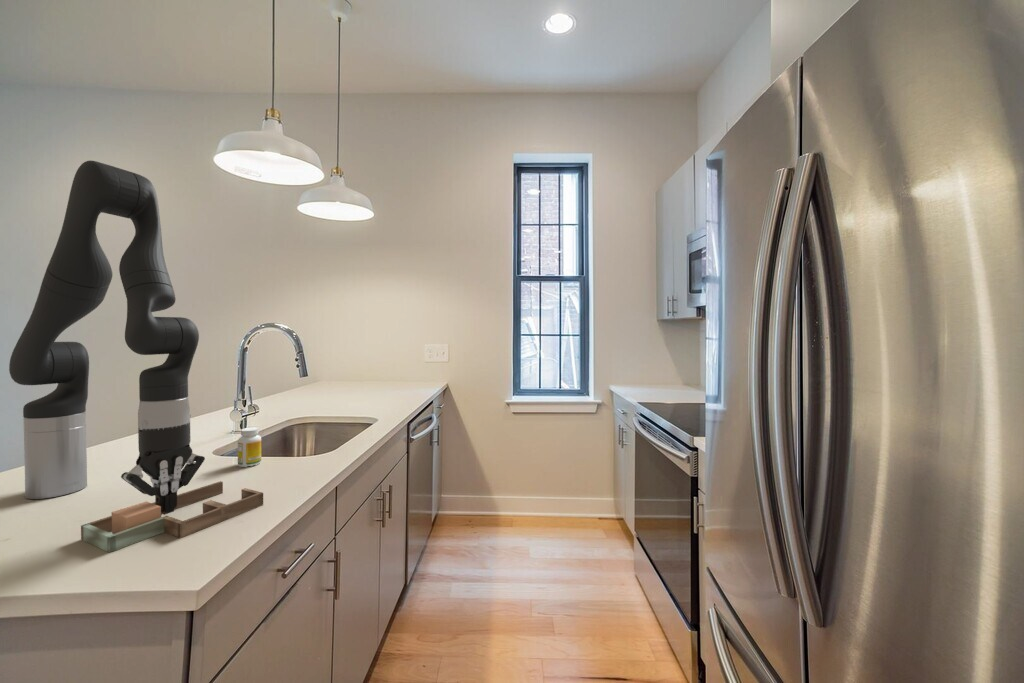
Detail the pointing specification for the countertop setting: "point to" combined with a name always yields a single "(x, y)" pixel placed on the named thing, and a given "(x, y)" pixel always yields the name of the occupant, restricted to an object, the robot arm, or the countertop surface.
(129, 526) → the terracotta block
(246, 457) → the supplement bottle
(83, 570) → the countertop surface
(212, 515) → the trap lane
